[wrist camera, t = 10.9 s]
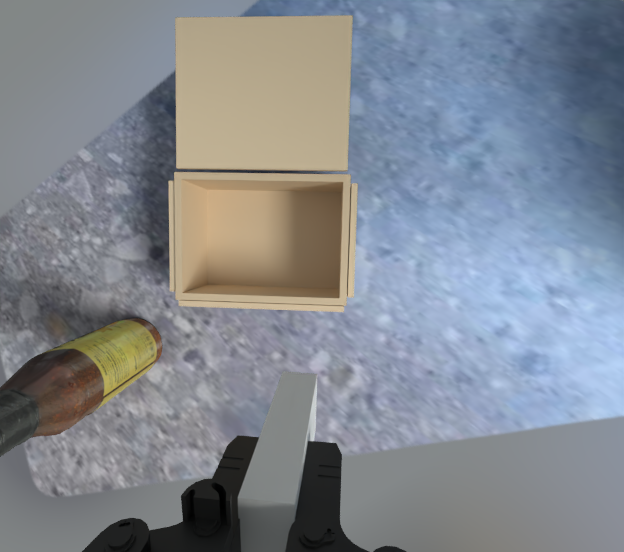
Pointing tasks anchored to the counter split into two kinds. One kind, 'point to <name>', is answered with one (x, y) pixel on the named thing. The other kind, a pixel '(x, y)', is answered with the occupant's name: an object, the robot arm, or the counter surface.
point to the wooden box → (262, 240)
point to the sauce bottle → (75, 380)
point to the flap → (263, 92)
